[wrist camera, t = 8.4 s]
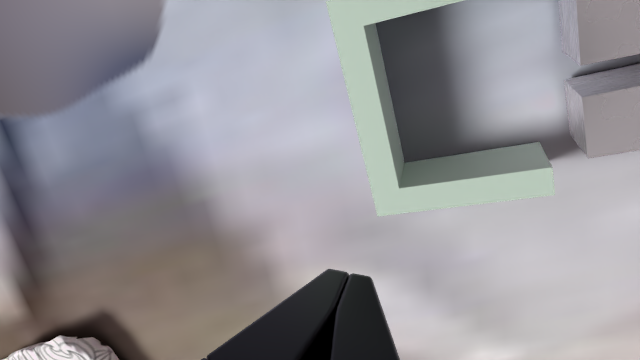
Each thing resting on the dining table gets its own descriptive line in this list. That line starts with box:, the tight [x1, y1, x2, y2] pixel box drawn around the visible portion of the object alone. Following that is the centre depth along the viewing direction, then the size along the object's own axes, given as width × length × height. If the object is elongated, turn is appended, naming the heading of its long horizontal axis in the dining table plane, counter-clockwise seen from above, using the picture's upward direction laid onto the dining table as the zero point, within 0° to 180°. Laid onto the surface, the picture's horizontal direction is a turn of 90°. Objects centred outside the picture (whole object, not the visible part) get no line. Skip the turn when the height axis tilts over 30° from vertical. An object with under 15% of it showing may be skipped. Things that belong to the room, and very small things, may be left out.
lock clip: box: [326, 0, 555, 216], centre depth 16 cm, size 8×6×2 cm
